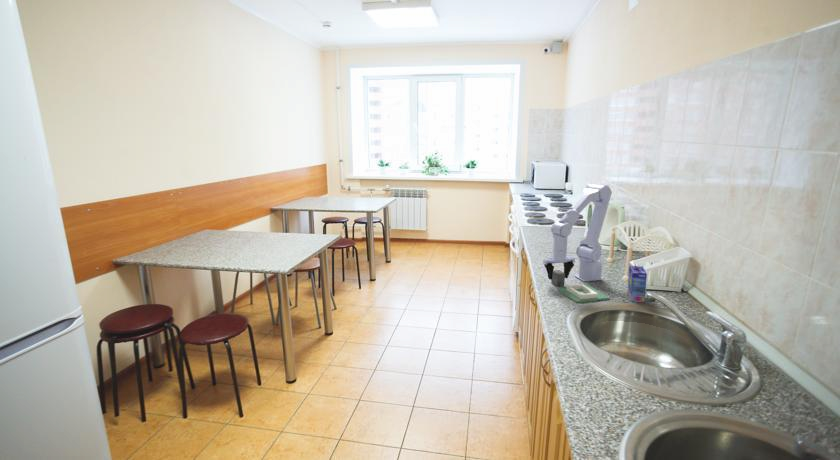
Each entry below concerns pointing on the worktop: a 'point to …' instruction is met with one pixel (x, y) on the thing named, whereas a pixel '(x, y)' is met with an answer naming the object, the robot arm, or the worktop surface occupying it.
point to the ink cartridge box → (637, 283)
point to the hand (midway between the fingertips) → (557, 278)
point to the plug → (558, 278)
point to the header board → (582, 293)
